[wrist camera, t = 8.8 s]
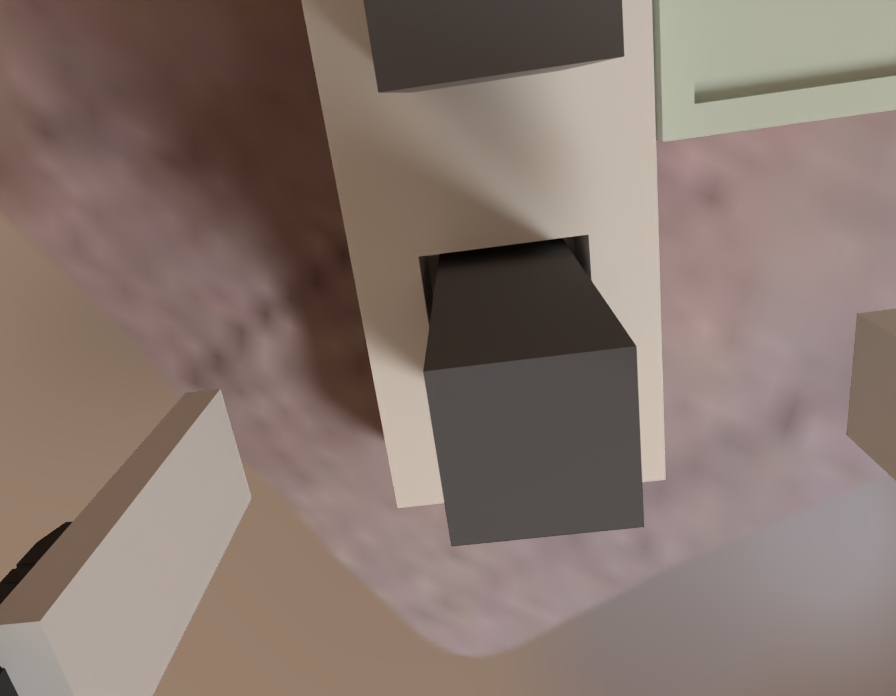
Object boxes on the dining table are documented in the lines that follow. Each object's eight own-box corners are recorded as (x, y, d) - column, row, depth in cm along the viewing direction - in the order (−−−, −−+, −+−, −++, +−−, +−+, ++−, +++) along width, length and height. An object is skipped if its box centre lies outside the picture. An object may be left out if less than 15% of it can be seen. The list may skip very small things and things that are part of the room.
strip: (300, -148, 20) (97, -449, 9) (609, -202, 19) (805, -594, 8) (406, 450, 27) (367, 700, 16) (636, 424, 26) (763, 665, 15)
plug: (456, 355, 25) (451, 546, 14) (440, 247, 23) (423, 371, 13) (566, 342, 24) (643, 526, 14) (558, 232, 23) (636, 346, 13)
